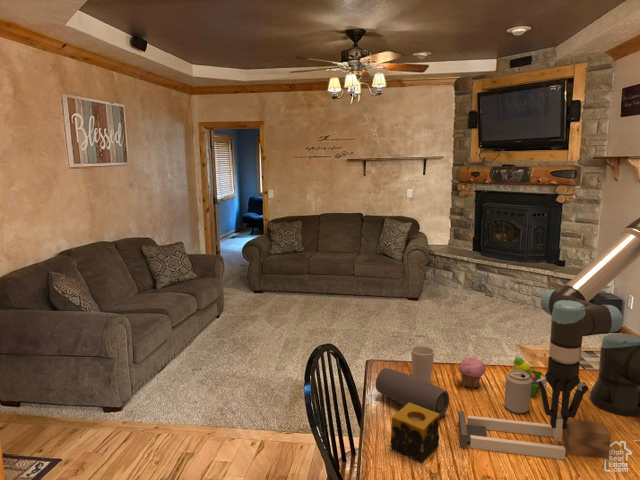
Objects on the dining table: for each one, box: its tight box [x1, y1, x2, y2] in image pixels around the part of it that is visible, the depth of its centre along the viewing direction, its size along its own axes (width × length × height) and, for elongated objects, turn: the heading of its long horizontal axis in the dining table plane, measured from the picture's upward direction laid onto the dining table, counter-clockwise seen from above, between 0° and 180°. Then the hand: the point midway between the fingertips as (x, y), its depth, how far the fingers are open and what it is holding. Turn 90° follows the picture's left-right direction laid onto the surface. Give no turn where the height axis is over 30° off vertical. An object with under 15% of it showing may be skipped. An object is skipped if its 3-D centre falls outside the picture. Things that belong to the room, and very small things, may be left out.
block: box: [561, 418, 612, 460], centre depth 131 cm, size 10×6×7 cm, turn 77°
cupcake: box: [458, 356, 486, 389], centre depth 168 cm, size 9×9×10 cm
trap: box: [458, 410, 488, 449], centre depth 138 cm, size 8×13×4 cm, turn 167°
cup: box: [410, 345, 435, 384], centre depth 170 cm, size 8×8×12 cm
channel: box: [466, 415, 566, 460], centre depth 136 cm, size 24×12×3 cm, turn 77°
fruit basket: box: [512, 356, 543, 398], centre depth 165 cm, size 11×9×11 cm
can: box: [503, 369, 532, 414], centre depth 152 cm, size 8×8×12 cm
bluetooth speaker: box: [375, 367, 450, 418], centre depth 154 cm, size 23×9×10 cm, turn 44°
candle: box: [390, 403, 440, 463], centre depth 133 cm, size 10×10×10 cm
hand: (556, 438), depth 133 cm, fingers closed
